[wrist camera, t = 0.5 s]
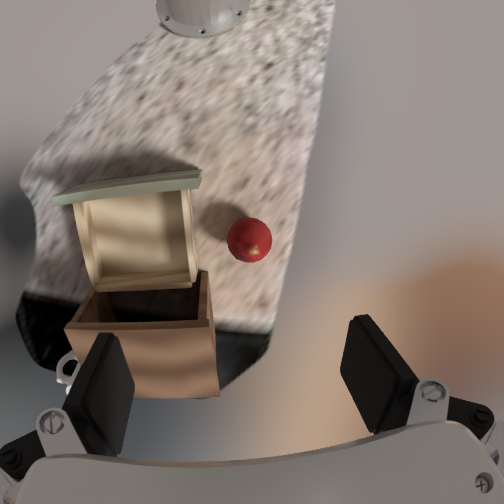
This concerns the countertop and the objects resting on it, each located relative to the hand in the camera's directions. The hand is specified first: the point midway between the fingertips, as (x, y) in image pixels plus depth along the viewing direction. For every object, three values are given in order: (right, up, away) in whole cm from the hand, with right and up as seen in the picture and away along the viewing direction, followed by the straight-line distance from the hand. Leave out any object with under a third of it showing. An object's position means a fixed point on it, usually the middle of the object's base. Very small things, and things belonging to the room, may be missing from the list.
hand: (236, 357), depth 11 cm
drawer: (-15, +8, +28) cm, 33 cm away
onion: (0, +7, +31) cm, 32 cm away
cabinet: (-15, -5, +34) cm, 37 cm away
